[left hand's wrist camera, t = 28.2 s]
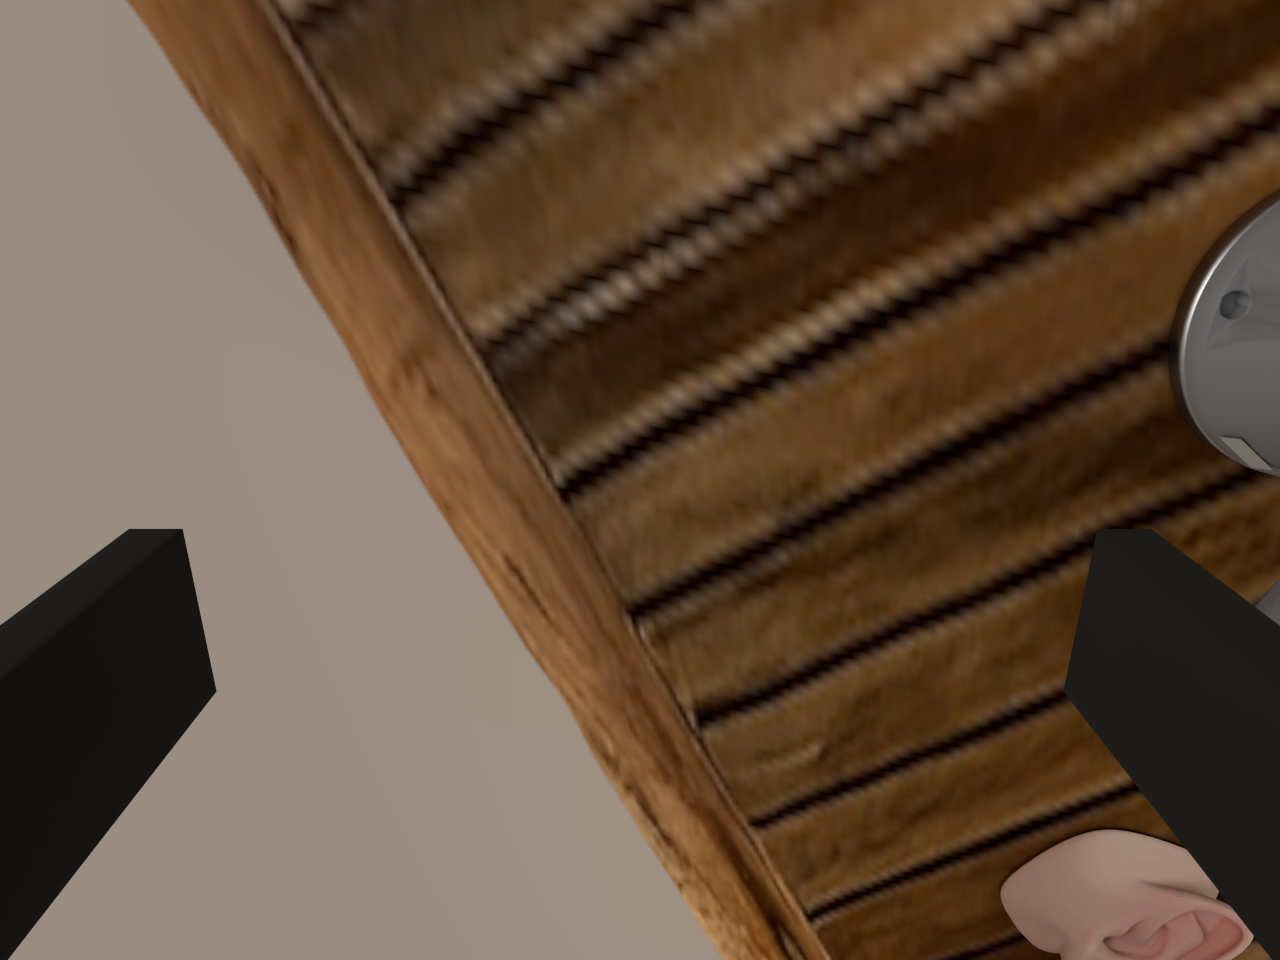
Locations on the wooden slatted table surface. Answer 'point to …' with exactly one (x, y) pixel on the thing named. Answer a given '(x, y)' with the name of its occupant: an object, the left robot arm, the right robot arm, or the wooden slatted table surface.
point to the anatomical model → (1122, 902)
